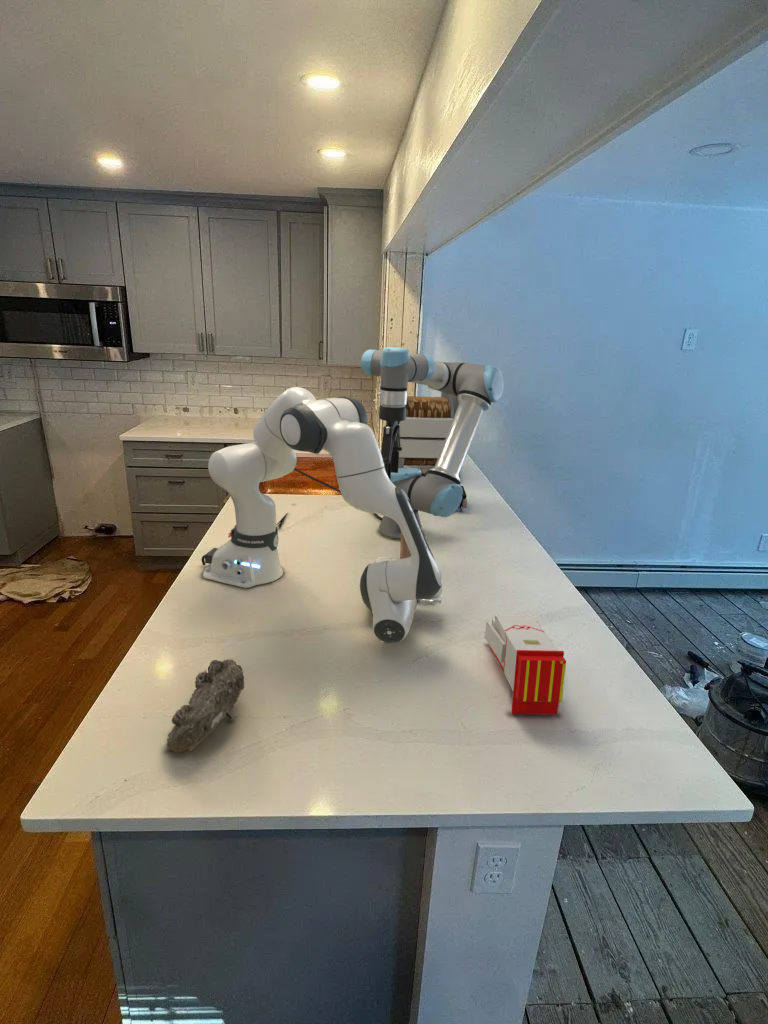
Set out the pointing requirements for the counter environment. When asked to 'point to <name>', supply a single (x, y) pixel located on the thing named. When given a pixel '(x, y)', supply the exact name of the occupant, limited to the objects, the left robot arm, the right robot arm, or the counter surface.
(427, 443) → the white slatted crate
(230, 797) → the counter surface
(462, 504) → the figurine character
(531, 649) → the toy
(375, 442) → the left robot arm
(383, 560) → the lid
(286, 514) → the feather
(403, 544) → the tan brown cylinder
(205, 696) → the fossil
